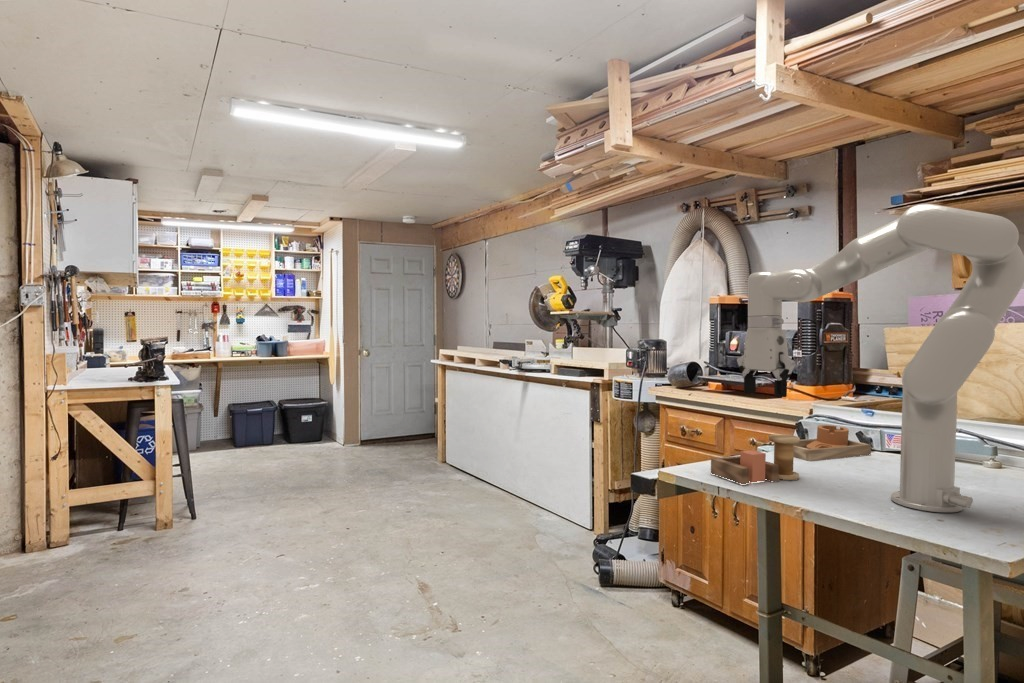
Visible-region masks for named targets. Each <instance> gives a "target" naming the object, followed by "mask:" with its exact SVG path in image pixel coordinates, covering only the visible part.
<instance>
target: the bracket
mask: <svg viewBox="0 0 1024 683" xmlns="http://www.w3.org/2000/svg"><path fill="white" fill-rule="evenodd" d="M816 428H817V430H816V439H817V440H816V441H813V442H811V443H810V444H808V445H807V446H806V449H818V448H829V447H840V446H848V440H849V432H850V430H849V428H847V427H845V426H840V427H839V428H837V425H833V424H819V425H817V427H816Z"/></svg>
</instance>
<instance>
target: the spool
mask: <svg viewBox="0 0 1024 683" xmlns="http://www.w3.org/2000/svg"><path fill="white" fill-rule="evenodd" d="M800 440H801V438H800V436H797V435H792V434H781V433H774V434H769V435H768V441H769V442H773V443H774V444H773V447H774V448H773V464H777V465H779V479H783V480H782V481H786V480H794V481H797V480H796V479H798V478H800V475H799V472H795V471H794V457H793V456H794V444H796V443H799V442H800ZM798 480H799V479H798Z"/></svg>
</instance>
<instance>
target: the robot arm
mask: <svg viewBox="0 0 1024 683" xmlns="http://www.w3.org/2000/svg"><path fill="white" fill-rule="evenodd" d="M1019 238H1020V233H1019V230H1018V227H1017V226H1016V225H1015V224H1014V222H1013V221H1011V220H1010V219H1009V218H1006V217H1004V216H1001V215H996V214H992V213H987V212H981V211H973V210H970V209H962V208H956V207H950V206H945V205H941V204H940V205H939V204H934V203H919V204H915V205H913V206H911V207H909V208H907V209H906V210H905V211H904V212H903V213H902V214H901V216H900V217H898V218H896V219H895V220H893V221H890V222H888V223H886V224H884V225H882V226H880V227H877V228H876V229H873V230H872V231H870V232H867V233H865V234H863V235H861V236H858V237H856V238H854V239H853V240H851V241H850V242H849V243H847V244H846V245H845V246H844V247H843V248H842V249H841V250H840V251H839V252H837V253H836V254H834V255H833V256H830V257H829V258H827V259H826V260H824V261H821V262H820V263H818V264H815V265H812V266H811V267H809V268H806V269H804V268H794V269H793V268H791V269H787V270H781V271H757V272H752V273H751V274H749V276H748V277H747V278H748V279H747V329H746V334H745V339H744V348H743V354H742V355H740V356H739V357H737V359H736V362H737V365H738V369H739V370H738V371H740V372H741V376H742V378H743V393H744V394H755V393H756V388H757V387H756V383H757V382H756V376H755V374H756V373H757V371H759V372H772V374H773V376H774V377H775V380H774V382H773V384H774V387H773V388H774V391H773V392H774V395H773V396H774V397H775V398H786V397H787V396H788V393H787V390H788V386H787V384H788V381H789V380H790V377H791V375H793V372H794V369H795V367H796V364H797V363H796V361H795V360H793V359H792V358H790V357H789V348H788V347H789V346H788V340H787V335H786V330H785V329H783V324H784V323H785V322H784V321H785V320H784V319H783V317H782V314H783V306H782V305H783V301H790V302H796V303H808V302H811V301H814V300H817V299H819V298H821V297H823V296H826V295H828V294H830V293H833V292H835V291H837V290H839V289H841V288H843V287H846V286H848V285H850V284H853V283H854V282H857V281H859V280H862V279H864V278H867V277H869V276H871V275H873V274H875V273H878V272H880V271H881V270H883V269H887V268H888V267H890V266H893V265H895V264H897V263H899V262H901V261H904V260H906V259H909V258H912V257H914V256H917V255H918V254H920V253H923V252H925V251H927V250H929V249H932V250H936V251H941V252H944V253H945V252H946V253H950V254H955V255H960V256H964V257H965V258H967V259H968V260H969V261H970V263H971V266H972V270H971V274H970V276H969V278H968V279H967V281H966V283H965V284H964V286H963V287H962V288H961V290H960V293H959V294H958V295H957V297H956V298H955V300H954V301H953V302H952V304H951V306H950V307H949V308H948V309H947V310H946V312H945V313H944V314H943V315H941V317H940V318H938V320H937V322H936V323H935V325H934V326H933V328H932V330H931V331H930V332H929V334H927V335H928V336H927V337H926V338H925V340H923V343H922V344H921V345H920V347H919V348H918V350H917V351H916V352H915V354H914V355H913V357H912V359H911V360H909V362H908V363H907V364H906V365H905V366H904V369H903V372H902V376H901V383H902V384H901V385H902V402H901V403H902V406H901V427H900V428H901V434H900V435H901V436H900V437H901V438H900V462H899V464H900V465H899V466H900V468H899V490H897V491H893V492H891V494H890V499H891V501H892V502H894V503H895V504H898V505H900V506H903V507H906V508H910V509H915V510H918V511H923V512H933V513H958V512H962V511H963V509H970V508H971V507H972V503H973V502H974V501H973V497H971V496H967V495H963V494H961V492H960V491H961V487H958V486H956V485H955V475H956V474H955V473H956V472H955V471H956V470H955V469H956V446H957V445H956V440H957V436H956V435H957V425H958V424H957V417H958V416H957V414H958V392H959V390H960V389H961V388H962V386H963V385H964V384H965V383H966V382H967V379H968V378H969V377H970V376H971V374H972V373H973V372H974V370H975V369H976V367H977V366H978V365H979V363H980V362H981V360H982V359H983V358H984V356H985V355H986V353H987V352H988V351H989V349H990V347H991V345H993V342H994V340H995V336H996V335H995V333H996V332H995V331H996V330H995V329H996V327H997V326H998V324H999V323H1000V322H1001V320H1002V318H1004V316H1005V315H1006V314H1007V311H1008V310H1009V308H1010V307H1011V305H1012V304H1013V302H1014V301H1015V300H1016V298H1017V296H1018V295H1019V292H1020V291H1021V289H1022V287H1023V285H1024V254H1023V251H1022V249H1021V247H1020V246H1019V245H1018V243H1019Z"/></svg>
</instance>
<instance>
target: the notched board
mask: <svg viewBox="0 0 1024 683" xmlns="http://www.w3.org/2000/svg"><path fill="white" fill-rule="evenodd" d="M711 473H712V474H715V475H718V476H721V477H724V478H727V479H730V480H733V481H735V482H738V483H741V484H746V483H749V468H747V467H744V466H741V465H740V455H737V456H726V457H717V458H711V459H710V474H711ZM765 479H767V480H770V481H778V482H779V481H780V480H779V465H777V464H774V462H769V461H766V462H765ZM770 481H769V482H770ZM749 484H750V483H749Z"/></svg>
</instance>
